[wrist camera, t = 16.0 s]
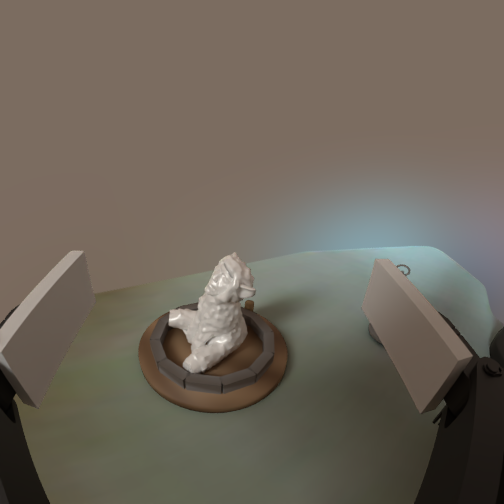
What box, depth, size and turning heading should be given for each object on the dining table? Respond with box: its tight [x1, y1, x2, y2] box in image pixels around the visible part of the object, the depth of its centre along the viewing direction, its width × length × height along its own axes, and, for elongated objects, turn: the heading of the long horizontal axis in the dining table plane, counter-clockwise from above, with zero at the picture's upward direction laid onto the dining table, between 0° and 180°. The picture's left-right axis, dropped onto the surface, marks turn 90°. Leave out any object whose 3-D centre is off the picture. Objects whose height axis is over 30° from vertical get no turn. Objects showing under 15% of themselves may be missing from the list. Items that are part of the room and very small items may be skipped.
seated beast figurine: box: [169, 252, 256, 374], centre depth 30 cm, size 10×9×12 cm
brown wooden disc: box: [139, 300, 287, 413], centre depth 32 cm, size 18×18×3 cm
